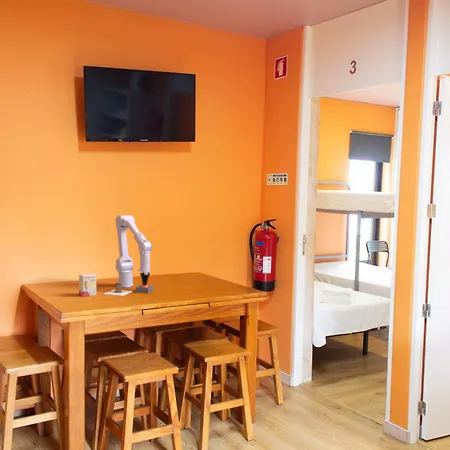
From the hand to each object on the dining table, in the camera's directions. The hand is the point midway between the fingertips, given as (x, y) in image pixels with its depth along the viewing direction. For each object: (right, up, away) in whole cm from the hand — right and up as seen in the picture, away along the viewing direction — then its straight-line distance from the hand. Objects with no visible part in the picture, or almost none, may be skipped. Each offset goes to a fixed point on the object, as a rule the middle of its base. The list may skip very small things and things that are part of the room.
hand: (144, 285), depth 320 cm
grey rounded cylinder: (-14, -3, -6) cm, 16 cm away
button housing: (0, -4, 0) cm, 4 cm away
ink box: (-30, -4, -14) cm, 34 cm away
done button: (0, -3, 0) cm, 3 cm away
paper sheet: (-14, -4, -6) cm, 16 cm away
